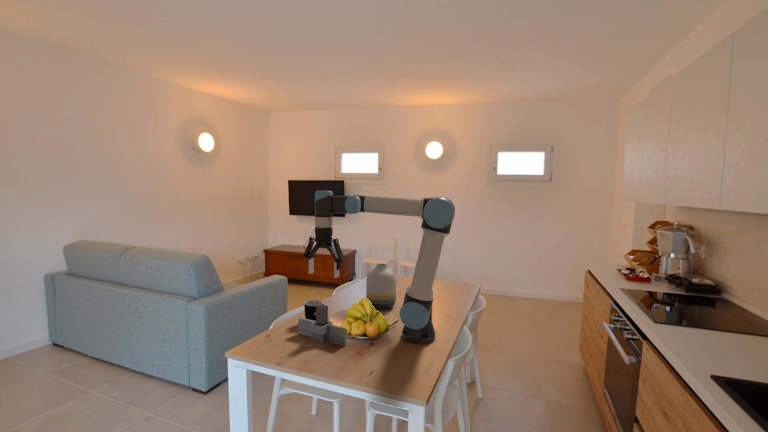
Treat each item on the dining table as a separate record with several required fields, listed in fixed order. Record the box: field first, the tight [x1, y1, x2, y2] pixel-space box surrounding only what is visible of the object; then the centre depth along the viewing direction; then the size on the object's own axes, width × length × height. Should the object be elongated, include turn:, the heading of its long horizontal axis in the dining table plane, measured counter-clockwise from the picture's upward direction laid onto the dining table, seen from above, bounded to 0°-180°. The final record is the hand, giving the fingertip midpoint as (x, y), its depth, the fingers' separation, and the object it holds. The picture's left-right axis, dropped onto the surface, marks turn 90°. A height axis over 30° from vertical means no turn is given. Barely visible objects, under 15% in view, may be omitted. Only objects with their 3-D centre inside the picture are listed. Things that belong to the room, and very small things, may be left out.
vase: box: [365, 263, 397, 310], centre depth 202 cm, size 17×17×24 cm
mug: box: [303, 299, 325, 321], centre depth 177 cm, size 12×9×10 cm
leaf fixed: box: [311, 324, 348, 347], centre depth 155 cm, size 16×6×7 cm, turn 63°
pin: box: [316, 304, 329, 326], centre depth 157 cm, size 4×4×15 cm
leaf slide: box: [297, 317, 333, 338], centre depth 159 cm, size 16×7×7 cm, turn 63°
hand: (323, 275), depth 156 cm, fingers open, 13 cm apart
